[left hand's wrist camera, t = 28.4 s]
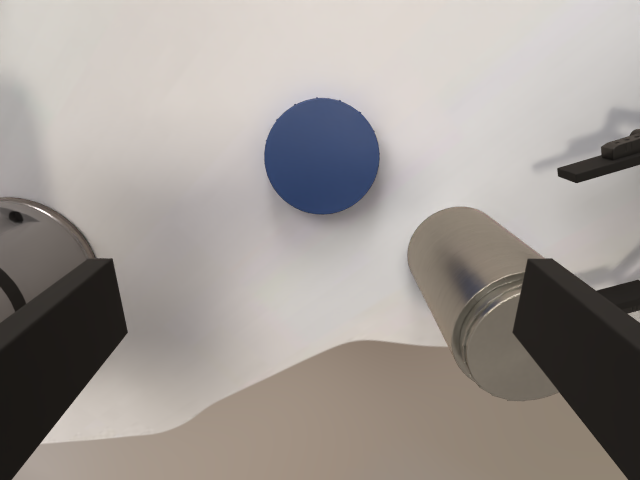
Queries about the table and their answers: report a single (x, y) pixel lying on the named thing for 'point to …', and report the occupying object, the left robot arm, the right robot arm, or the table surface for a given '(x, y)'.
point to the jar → (478, 298)
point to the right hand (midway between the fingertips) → (572, 245)
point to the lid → (321, 156)
